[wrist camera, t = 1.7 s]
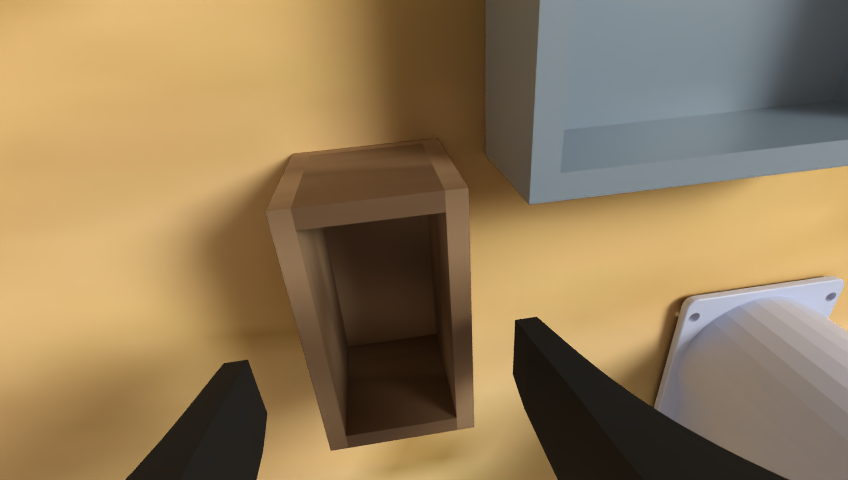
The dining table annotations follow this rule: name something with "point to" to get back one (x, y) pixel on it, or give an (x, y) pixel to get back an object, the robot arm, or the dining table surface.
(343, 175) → the walnut crate
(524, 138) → the slate crate
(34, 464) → the dining table surface
